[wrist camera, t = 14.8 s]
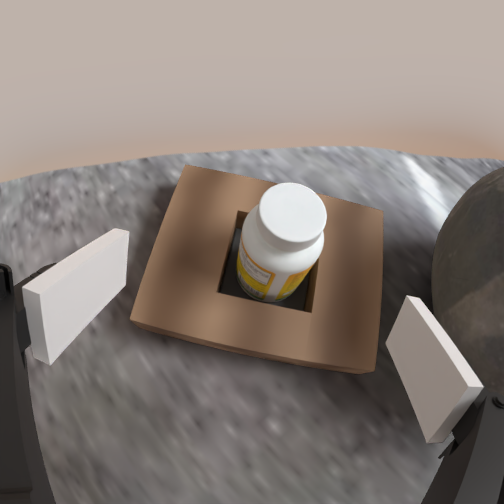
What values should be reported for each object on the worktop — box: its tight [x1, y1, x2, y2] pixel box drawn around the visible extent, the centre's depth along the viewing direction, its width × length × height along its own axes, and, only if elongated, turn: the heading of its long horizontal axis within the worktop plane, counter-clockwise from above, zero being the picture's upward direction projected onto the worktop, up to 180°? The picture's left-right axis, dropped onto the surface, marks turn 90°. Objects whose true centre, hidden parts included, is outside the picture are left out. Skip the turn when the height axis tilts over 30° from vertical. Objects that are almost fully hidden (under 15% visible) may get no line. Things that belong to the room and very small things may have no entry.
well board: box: [130, 165, 383, 374], centre depth 26 cm, size 18×14×3 cm
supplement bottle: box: [236, 183, 327, 302], centre depth 23 cm, size 5×5×10 cm
